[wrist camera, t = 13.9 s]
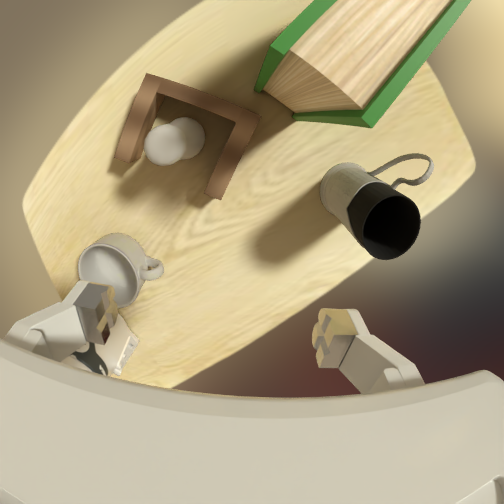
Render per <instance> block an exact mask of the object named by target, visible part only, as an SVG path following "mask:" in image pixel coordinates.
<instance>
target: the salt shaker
mask: <svg viewBox="0 0 504 504" xmlns="http://www.w3.org/2000/svg"><path fill="white" fill-rule="evenodd" d="M204 142H205V133H204V130H203V127H202V126H201V125H200V124H199V123H198V122H197V121H196V120H194V119H191V118H188V117H183V118H177V119H175V120H174V121H172V122H171V123H169V124H164V125H159V126H157V127H155V128H154V129H153V130H151V131H150V132H149V133H148V135H147V137H146V138H145V141H144V151H145V154H146V157H147V158H148V159H149V160H150V161H151V162H152V163H153V164H156V165H160V166H166V165H172V164H174V163H175V162H177V161H178V160H183V159H191V158H192V157H194V156H195V155H197V154H199V152H200V151H201V149H202V148H203V146H204Z"/></svg>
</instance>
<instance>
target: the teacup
mask: <svg viewBox="0 0 504 504" xmlns="http://www.w3.org/2000/svg"><path fill="white" fill-rule="evenodd" d="M148 266H149V267H153V268H155V269H152V270H148ZM78 272H79V278H80V280H84V281H89V282H95V283H100V284H105V285H111V286H113V287H114V290H115V296H114V298H113V300H114V301H115V302H116V303H117V307H118V308H123V307H127V306H129V305H130V304H132V303H133V302H134V301H135V299H136V298H137V296H138V293H139V291H140V289H141V287H142V286H143V284H144V282H145V280H147V281H151V280H155V279H158V278H159V277H161V276H162V274H163V273H164V267H163V264H162V262H161V261H159V260H157V259H154V258H151V257H150V256H146V254H145V252H144V250H143V248H142V247H141V245H140V244H139V243H138V242H137V241H136V240H135V239H133V238H132V237H130V236H128V235H125V234H122V233H111V234H108V235H105V236H103V237H102V238H100V239H99V240H97V241H96V242H95V243H93V244H92V245H90V246H89V247H87V248H86V249H85V250H84V251H83V252H82V254H81V256H80V258H79V262H78Z"/></svg>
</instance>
